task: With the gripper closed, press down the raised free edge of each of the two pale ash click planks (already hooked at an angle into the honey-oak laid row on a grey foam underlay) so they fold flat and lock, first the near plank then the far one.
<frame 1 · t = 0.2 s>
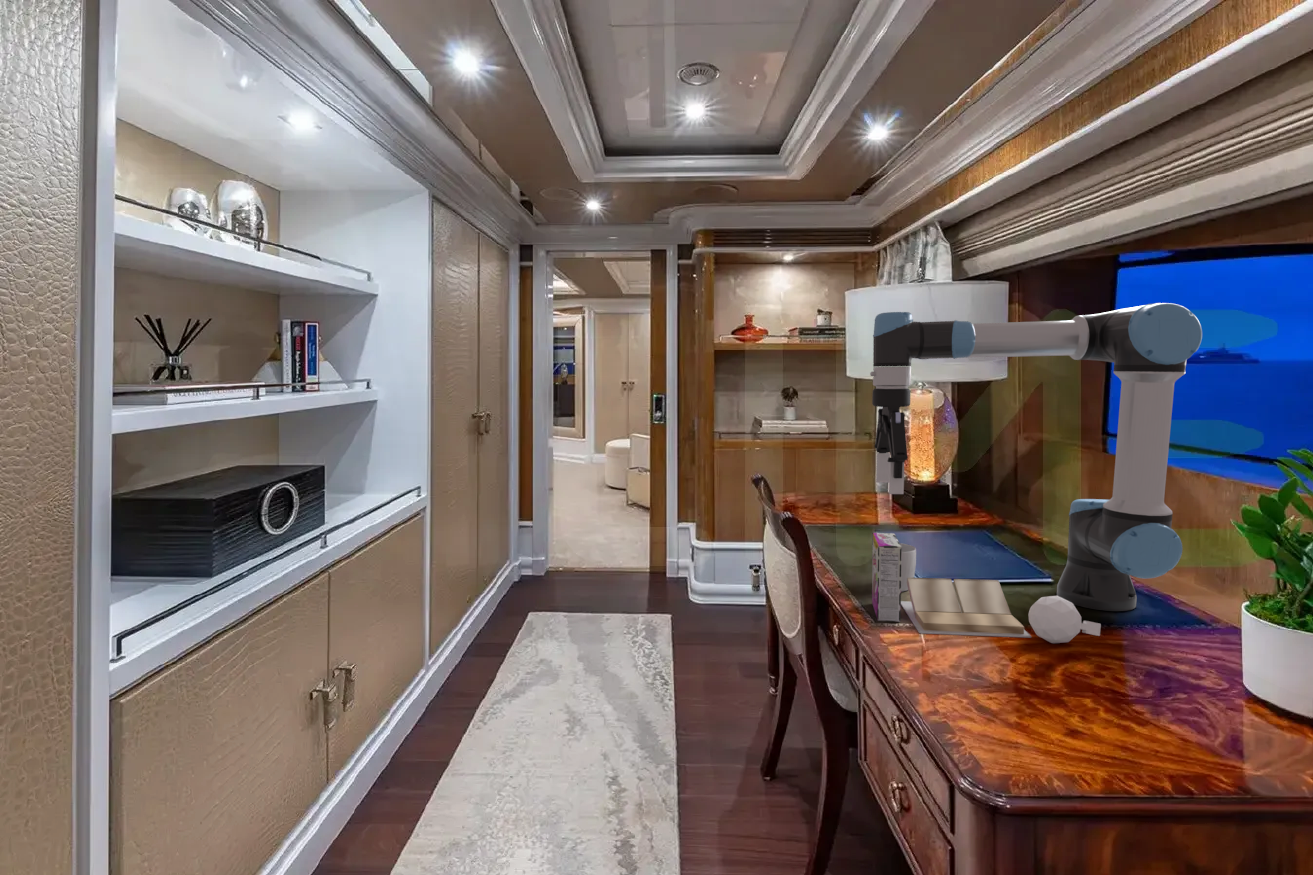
hand: (889, 488, 145), 27 cm above the table, fingers open, 13 cm apart
click plank A: (980, 598, 146), point 4 cm above the table, hinge at 32.0°
laid plank: (967, 627, 139), resting on underlay
candy bar box: (885, 613, 148), on the table
click plank B: (933, 596, 147), point 4 cm above the table, hinge at 32.0°
perfume bottle: (1062, 643, 131), on the table
mug: (897, 586, 166), on the table
underlay: (960, 618, 144), on the table
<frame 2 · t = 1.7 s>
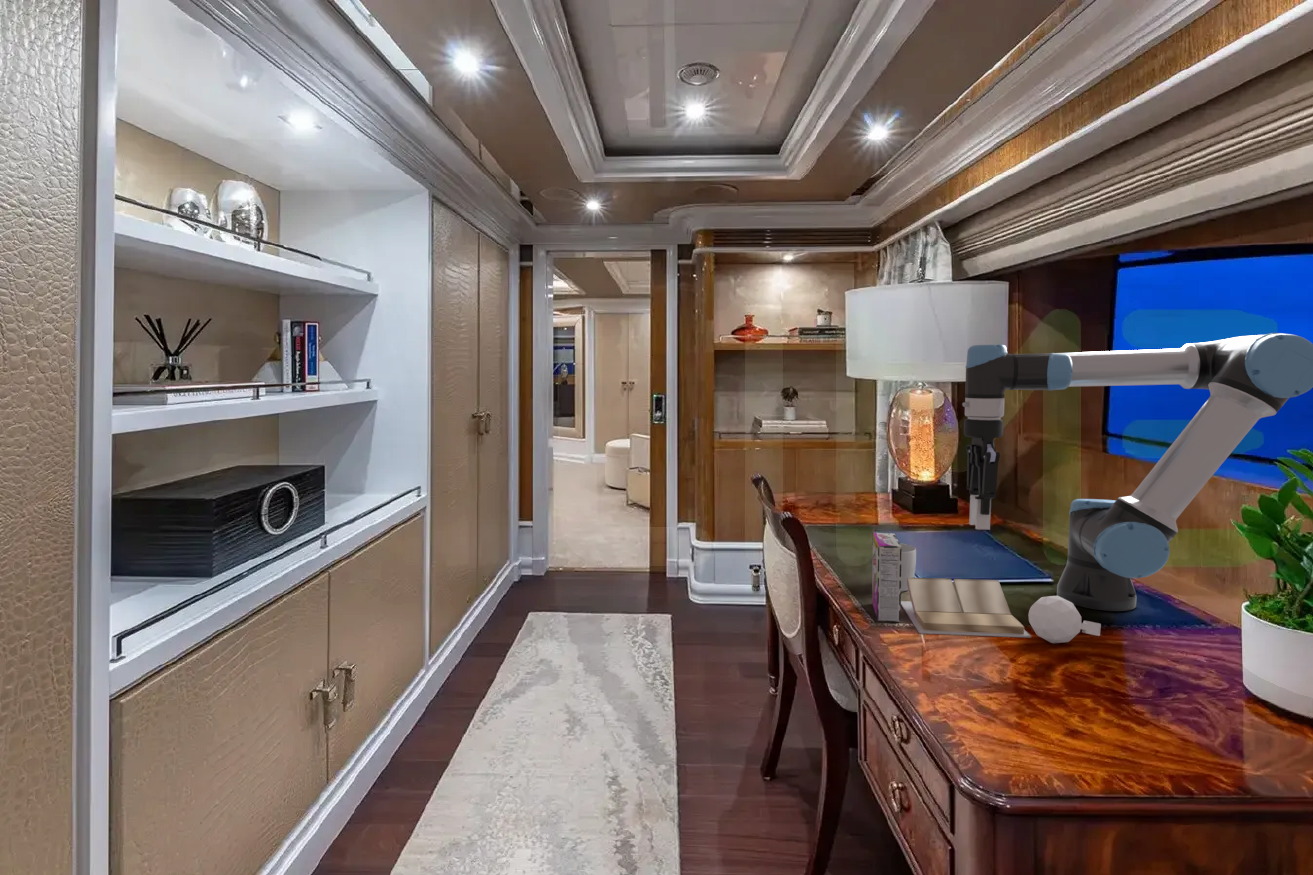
hand: (979, 526, 147), 19 cm above the table, fingers open, 3 cm apart
nothing on the table moved.
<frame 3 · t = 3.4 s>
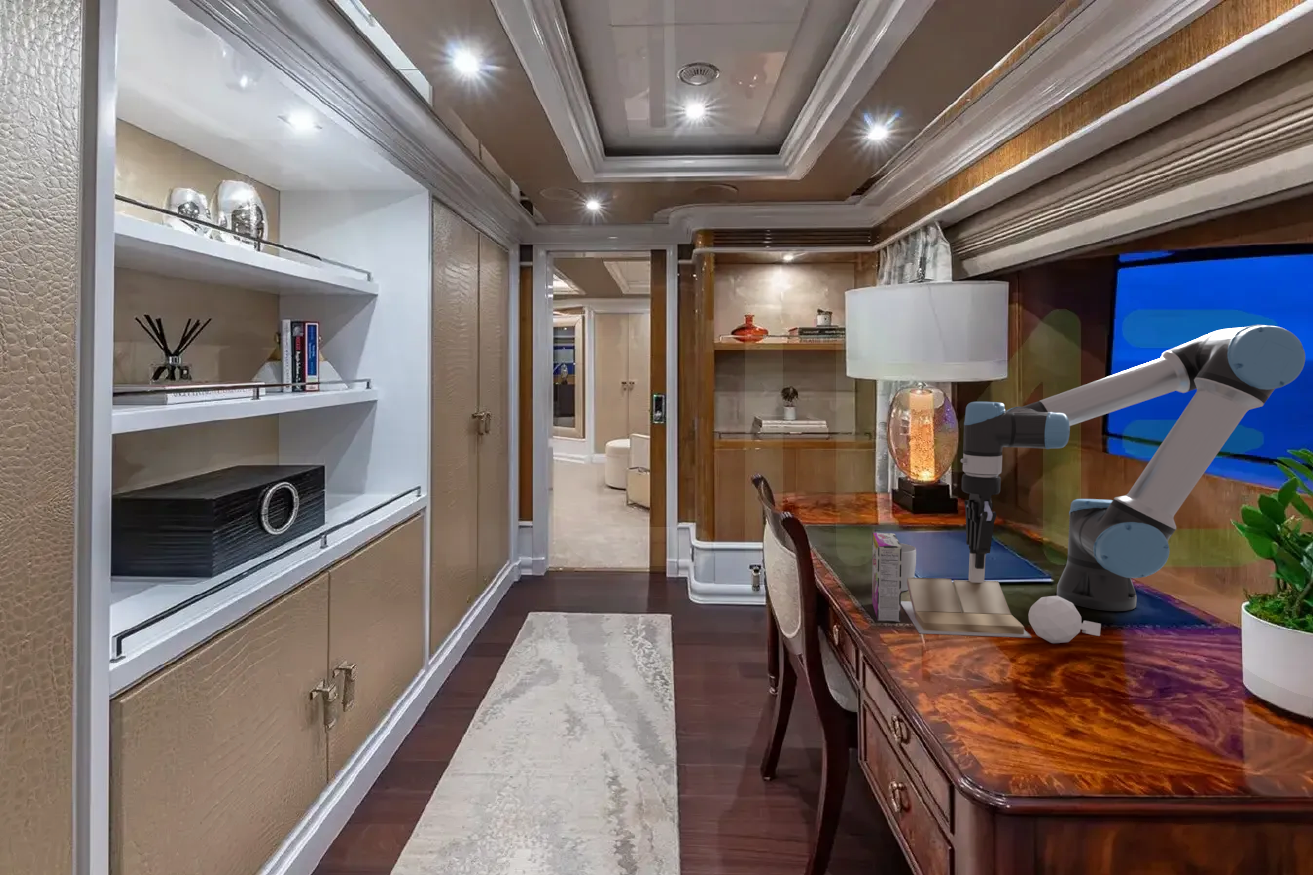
hand: (976, 581, 149), 6 cm above the table, fingers closed
click plank A: (980, 598, 146), point 3 cm above the table, hinge at 29.7°, touching gripper
everything else where it was.
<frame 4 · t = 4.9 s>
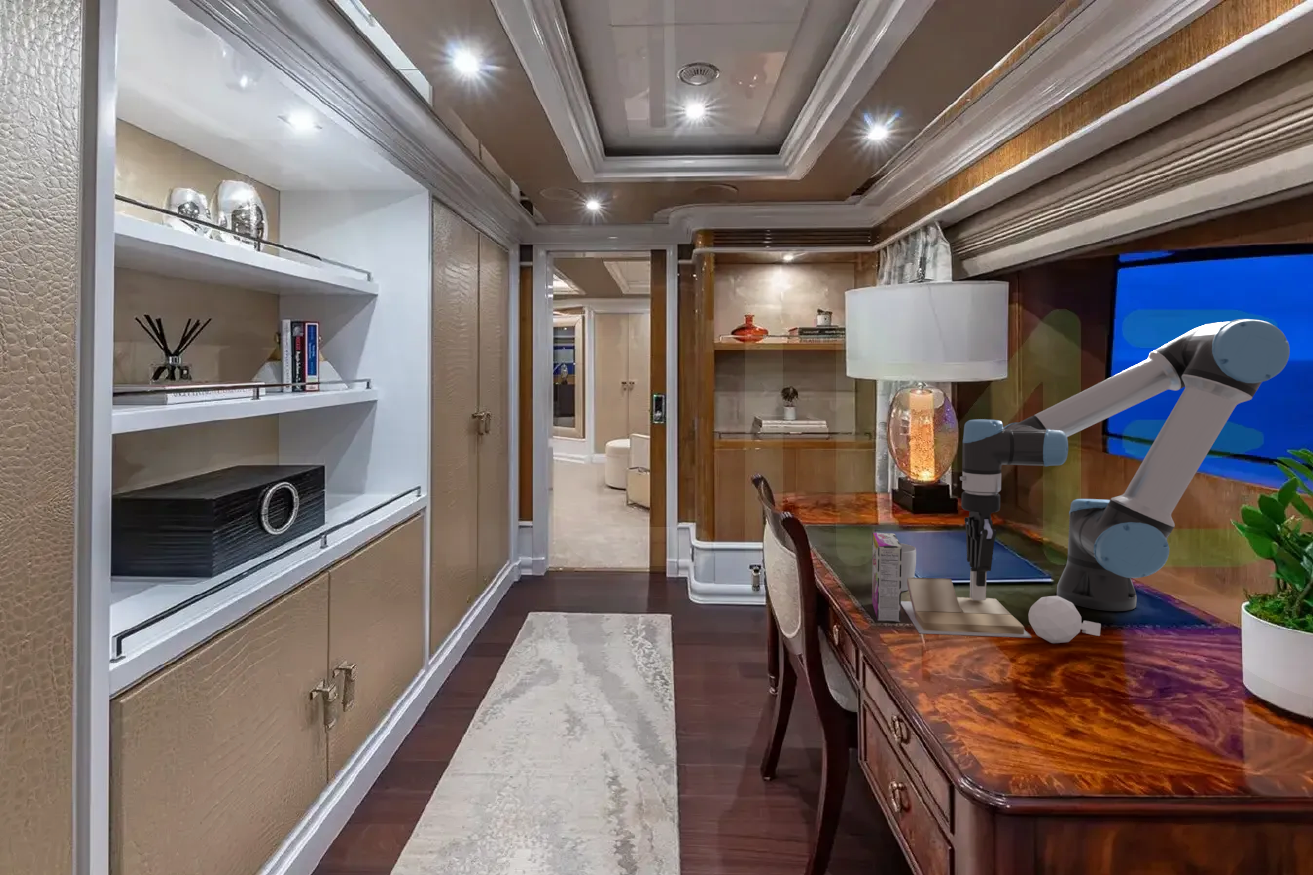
hand: (977, 598, 149), 3 cm above the table, fingers closed
click plank A: (980, 608, 146), point 1 cm above the table, hinge at 1.7°
everything else where it was.
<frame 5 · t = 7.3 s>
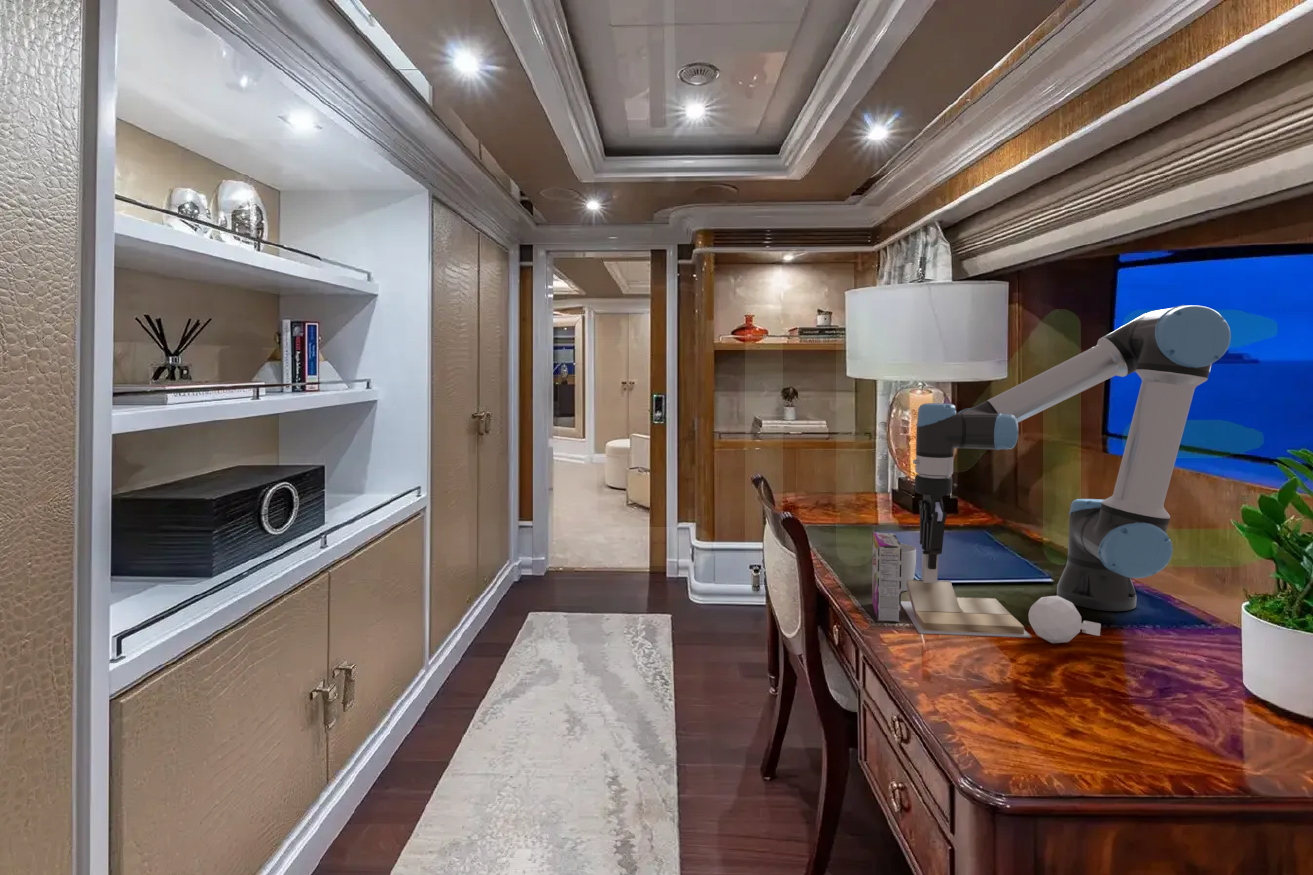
hand: (929, 580, 150), 6 cm above the table, fingers closed
click plank B: (932, 597, 147), point 3 cm above the table, hinge at 27.6°, touching gripper
everything else where it was.
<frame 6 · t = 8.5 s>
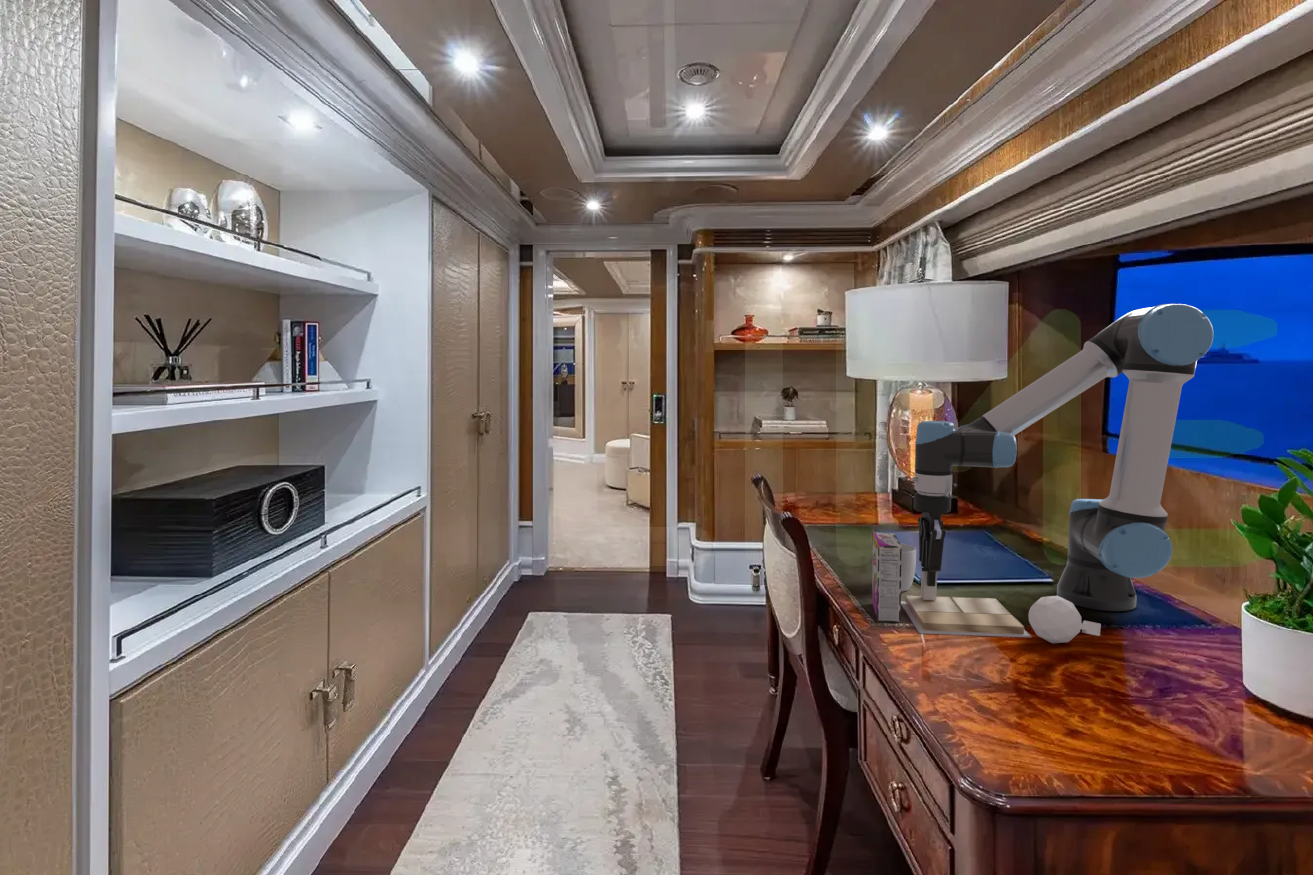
hand: (928, 598, 150), 2 cm above the table, fingers closed, pressing on click plank B
click plank B: (932, 606, 148), point 1 cm above the table, hinge at 1.9°, touching gripper
everything else where it was.
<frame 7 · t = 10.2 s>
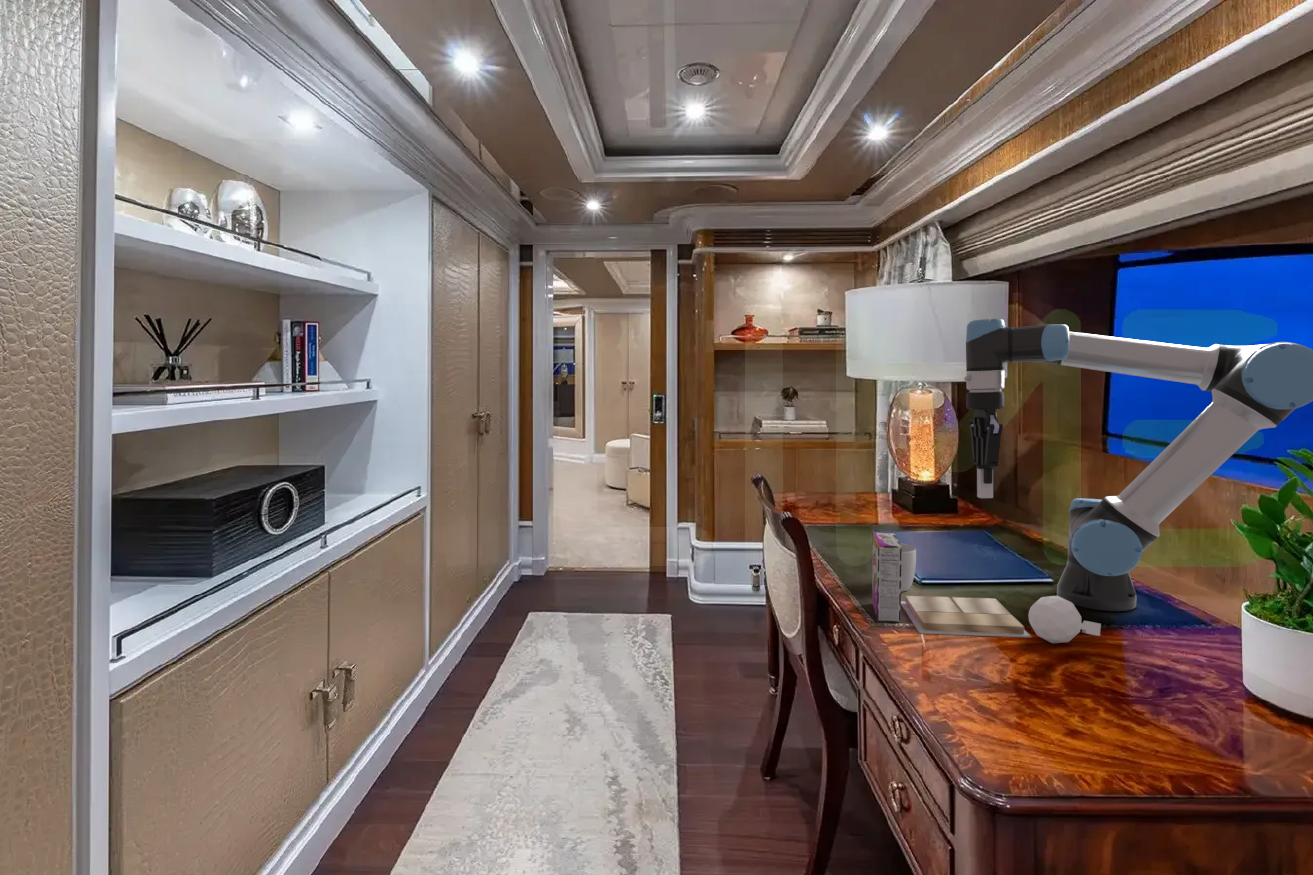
hand: (985, 497, 151), 24 cm above the table, fingers closed
click plank B: (932, 606, 148), point 1 cm above the table, hinge at 1.8°
everything else where it was.
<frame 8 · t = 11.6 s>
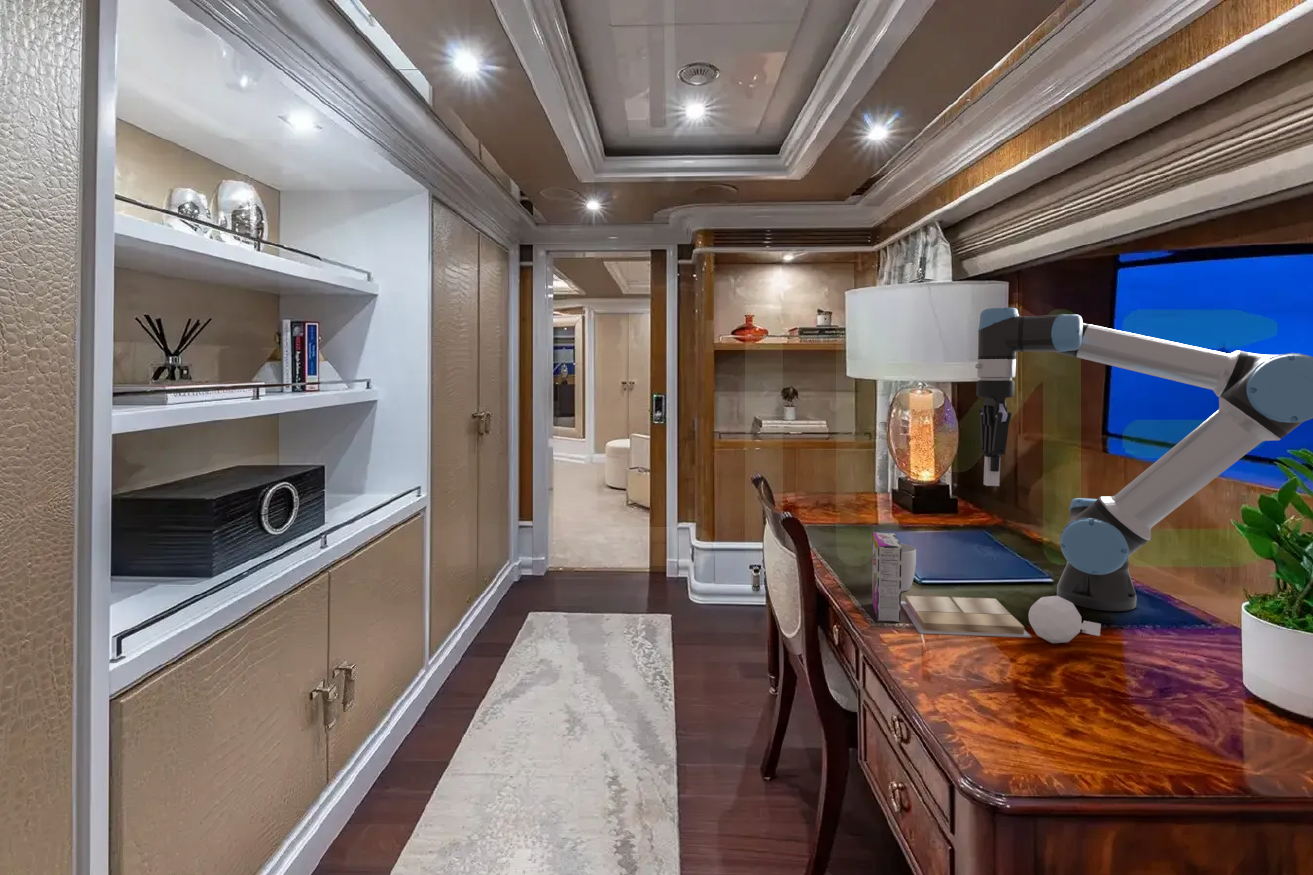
hand: (991, 484, 153), 26 cm above the table, fingers closed
nothing on the table moved.
at the end: click plank A at +2° (first picture: +32°); click plank B at +2° (first picture: +32°) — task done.
